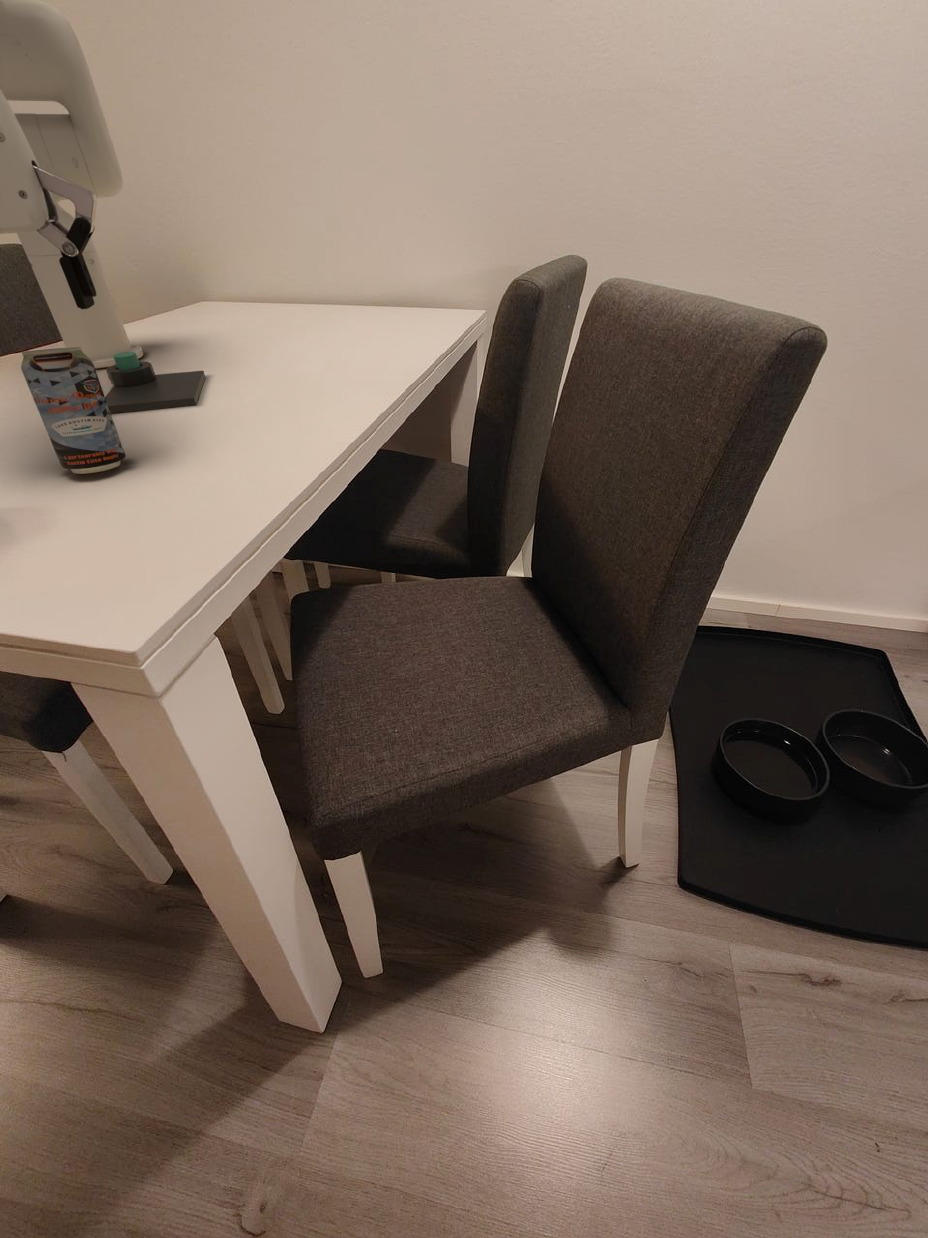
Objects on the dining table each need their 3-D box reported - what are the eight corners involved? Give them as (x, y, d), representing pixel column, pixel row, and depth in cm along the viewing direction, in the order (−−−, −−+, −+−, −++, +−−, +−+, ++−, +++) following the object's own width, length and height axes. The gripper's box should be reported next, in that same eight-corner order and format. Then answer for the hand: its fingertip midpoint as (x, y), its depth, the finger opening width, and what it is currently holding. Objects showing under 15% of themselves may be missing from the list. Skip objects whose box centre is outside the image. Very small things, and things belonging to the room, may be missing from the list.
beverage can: (63, 486, 57) (0, 360, 50) (71, 460, 63) (15, 343, 55) (131, 474, 59) (80, 352, 52) (132, 450, 65) (86, 335, 57)
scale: (119, 384, 86) (111, 363, 84) (205, 376, 88) (199, 355, 86) (96, 415, 75) (87, 391, 73) (196, 405, 77) (189, 382, 75)
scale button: (120, 367, 83) (115, 352, 82) (142, 365, 84) (137, 350, 82) (116, 372, 81) (110, 357, 80) (139, 370, 81) (133, 355, 80)
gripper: (-273, 32, 36) (-101, 326, 47) (25, 35, 40) (123, 310, 50) (-198, 53, 42) (-60, 311, 53) (57, 54, 45) (139, 297, 56)
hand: (29, 310), depth 51 cm, fingers open, 9 cm apart
